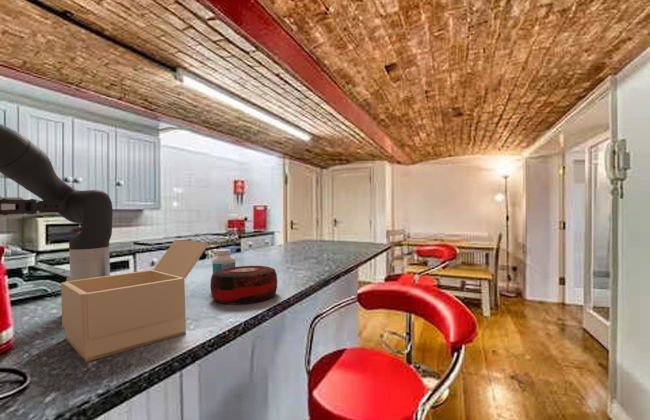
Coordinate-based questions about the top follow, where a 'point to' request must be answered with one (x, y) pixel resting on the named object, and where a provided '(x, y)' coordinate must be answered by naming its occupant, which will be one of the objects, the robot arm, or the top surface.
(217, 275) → the wheel
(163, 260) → the carton flap
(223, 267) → the pill bottle
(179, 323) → the carton
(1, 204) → the robot arm
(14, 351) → the top surface
